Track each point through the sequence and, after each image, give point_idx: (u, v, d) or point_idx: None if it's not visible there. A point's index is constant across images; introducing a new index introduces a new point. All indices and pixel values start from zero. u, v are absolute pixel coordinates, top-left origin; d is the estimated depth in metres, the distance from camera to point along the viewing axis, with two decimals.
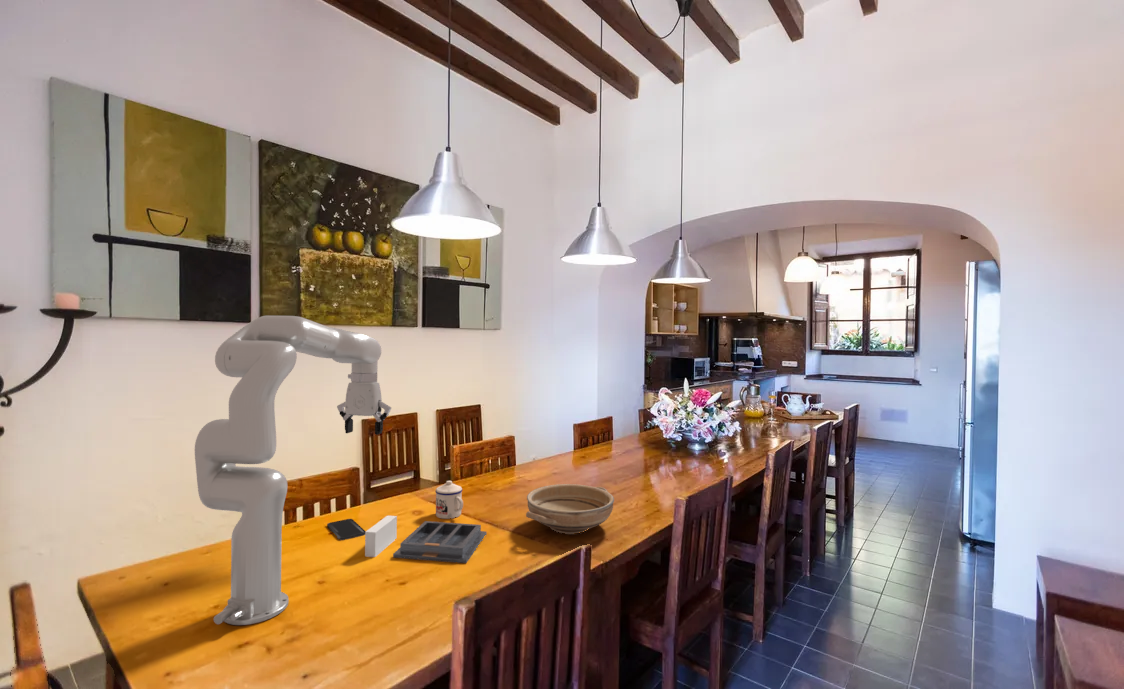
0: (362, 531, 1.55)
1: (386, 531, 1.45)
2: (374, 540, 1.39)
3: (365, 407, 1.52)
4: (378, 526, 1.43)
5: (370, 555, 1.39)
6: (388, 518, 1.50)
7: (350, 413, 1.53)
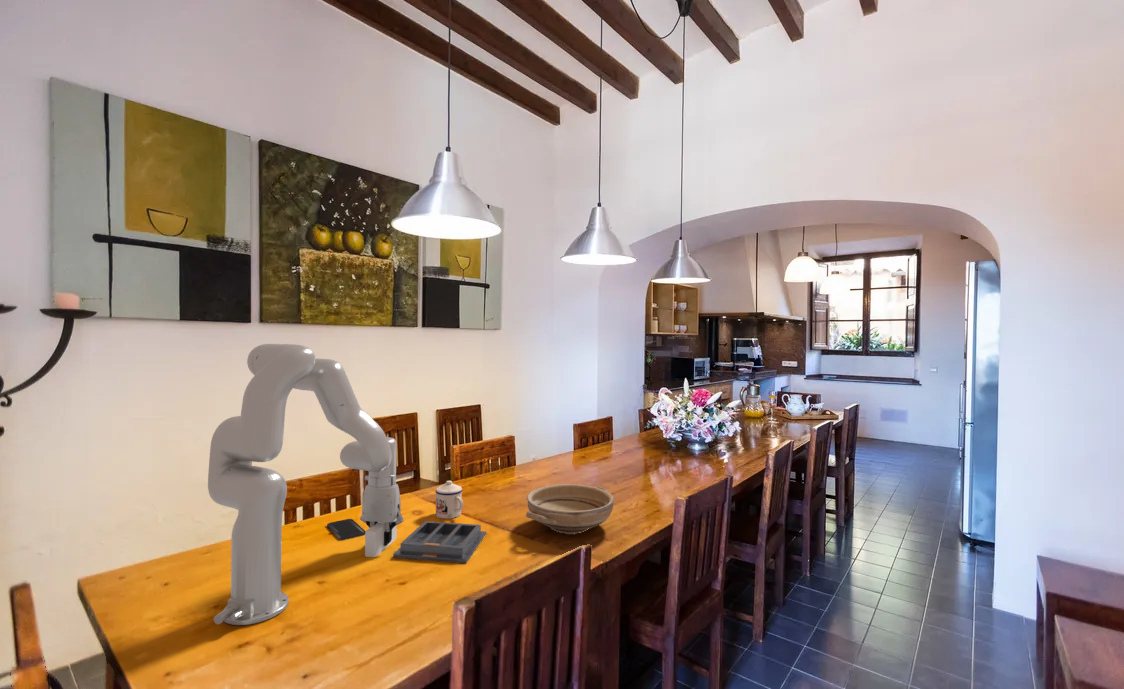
0: (362, 531, 1.55)
1: None
2: (374, 539, 1.39)
3: (383, 513, 1.42)
4: (378, 526, 1.43)
5: (370, 555, 1.39)
6: None
7: (367, 519, 1.43)
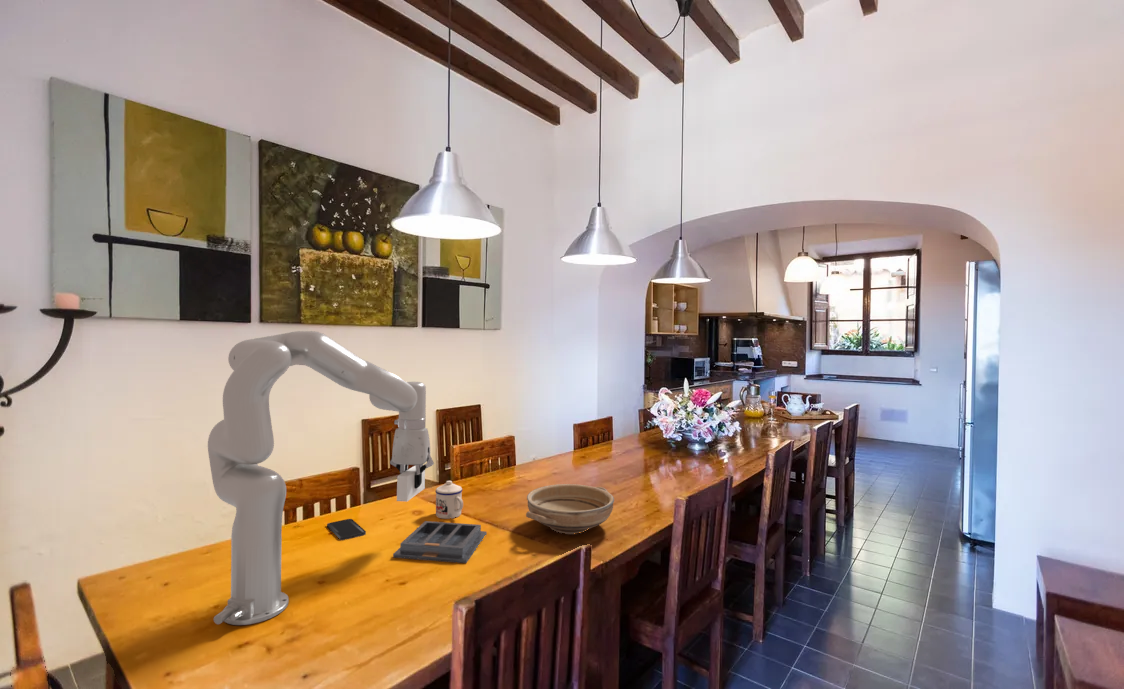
0: (362, 531, 1.55)
1: None
2: (406, 484, 1.40)
3: (414, 456, 1.43)
4: (409, 472, 1.44)
5: (402, 499, 1.40)
6: None
7: (398, 462, 1.44)
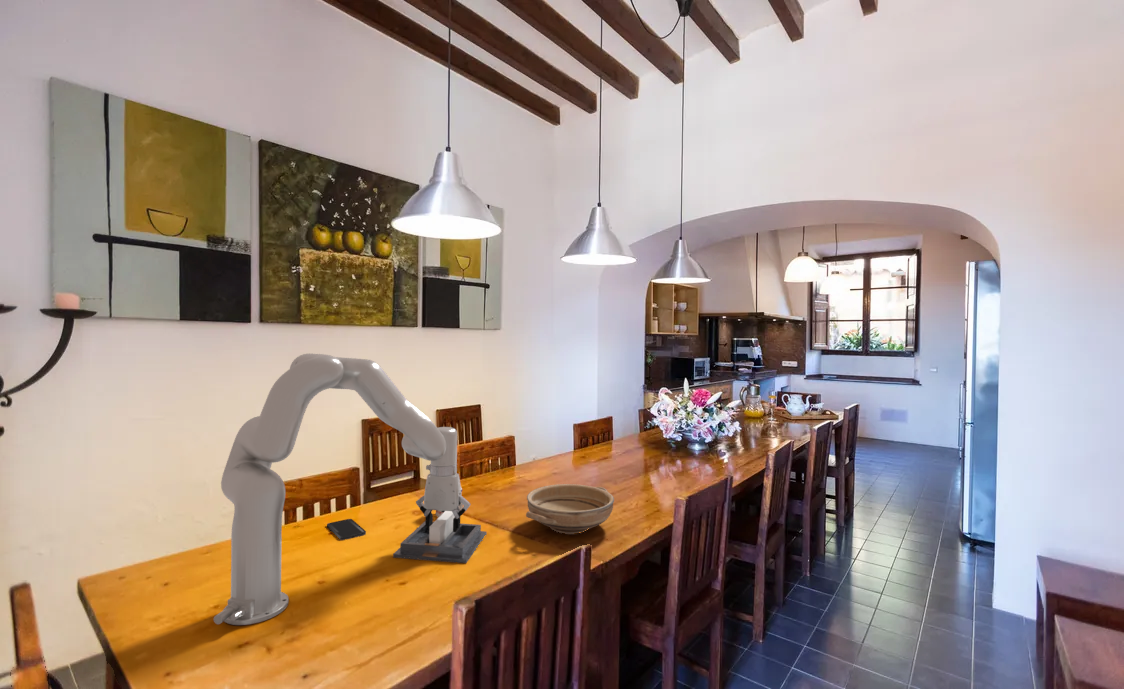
0: (362, 531, 1.55)
1: (447, 526, 1.47)
2: (438, 535, 1.40)
3: (446, 502, 1.44)
4: (440, 521, 1.45)
5: None
6: (447, 513, 1.51)
7: (430, 508, 1.45)
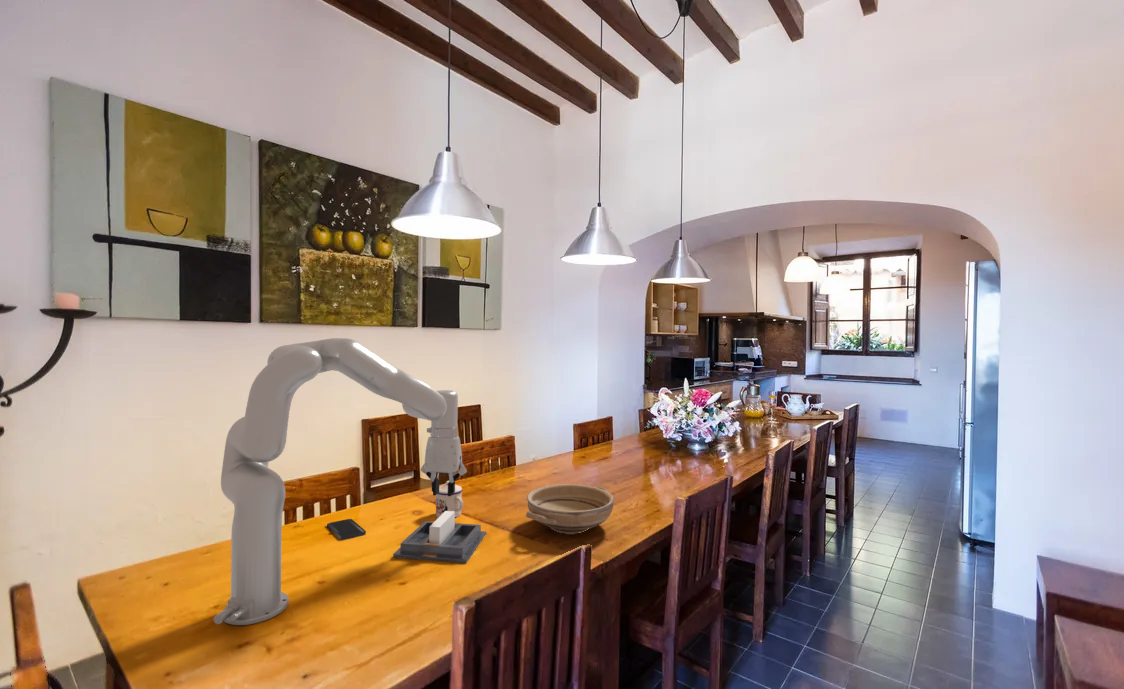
0: (362, 531, 1.55)
1: (447, 526, 1.47)
2: (438, 535, 1.40)
3: (446, 464, 1.44)
4: (440, 521, 1.45)
5: None
6: (447, 513, 1.51)
7: (430, 470, 1.45)
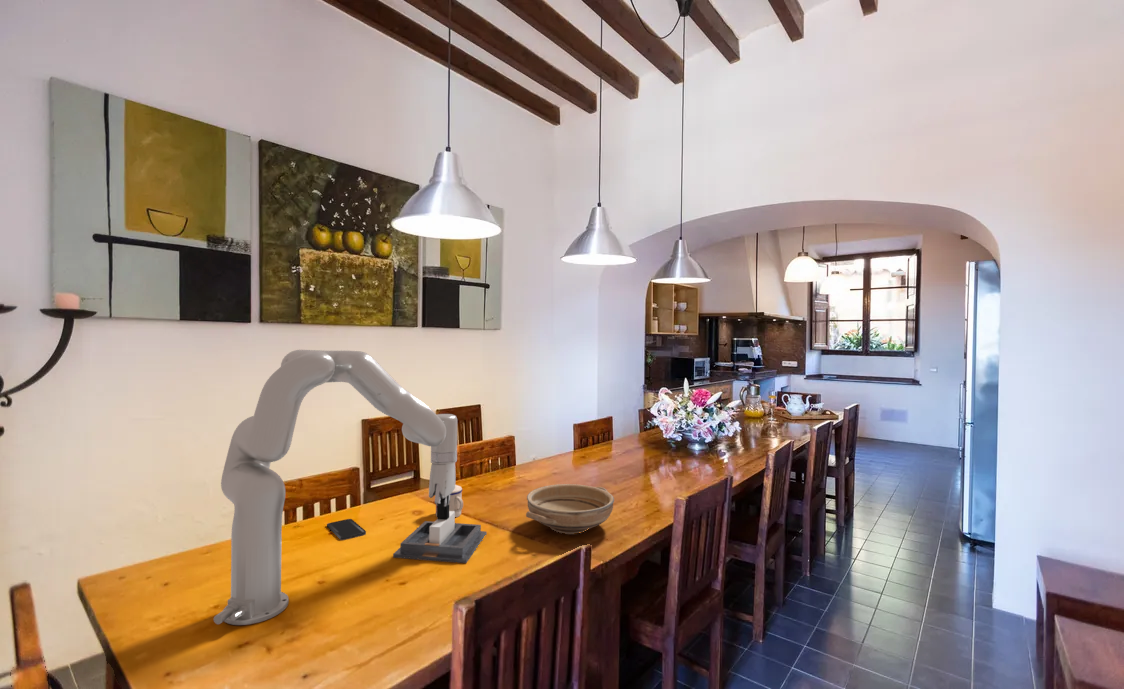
0: (362, 531, 1.55)
1: (447, 526, 1.47)
2: (438, 535, 1.40)
3: None
4: (440, 521, 1.45)
5: None
6: None
7: None
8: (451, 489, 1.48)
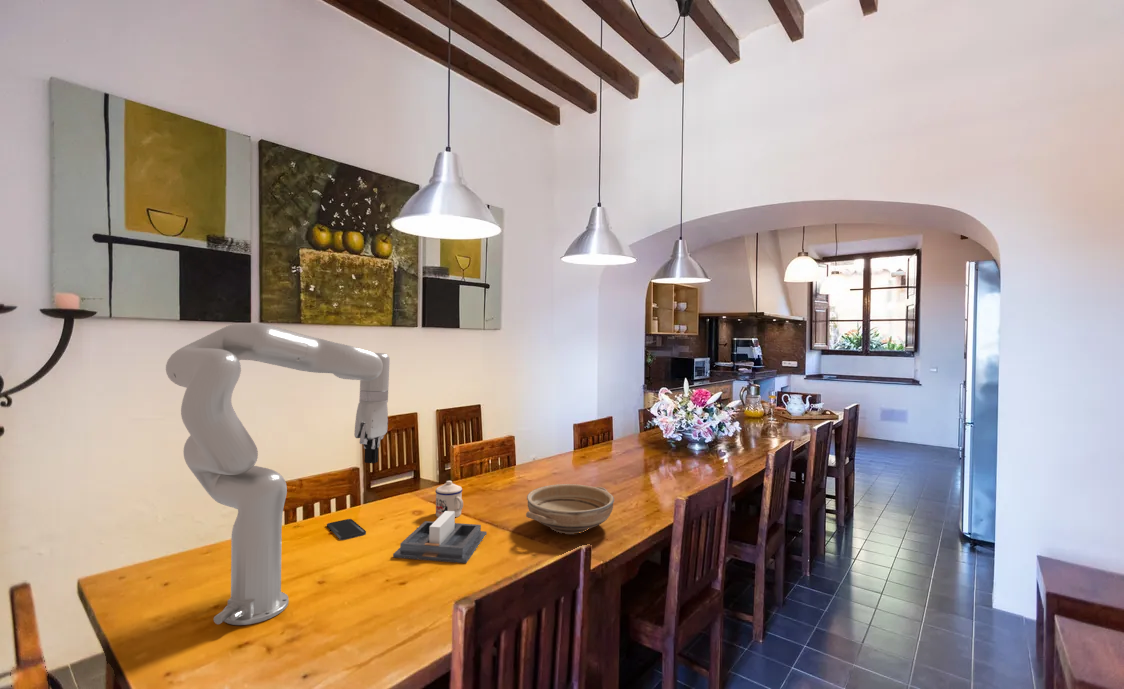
0: (362, 531, 1.55)
1: (447, 526, 1.47)
2: (438, 535, 1.40)
3: None
4: (440, 521, 1.45)
5: None
6: (447, 513, 1.51)
7: None
8: (381, 432, 1.40)
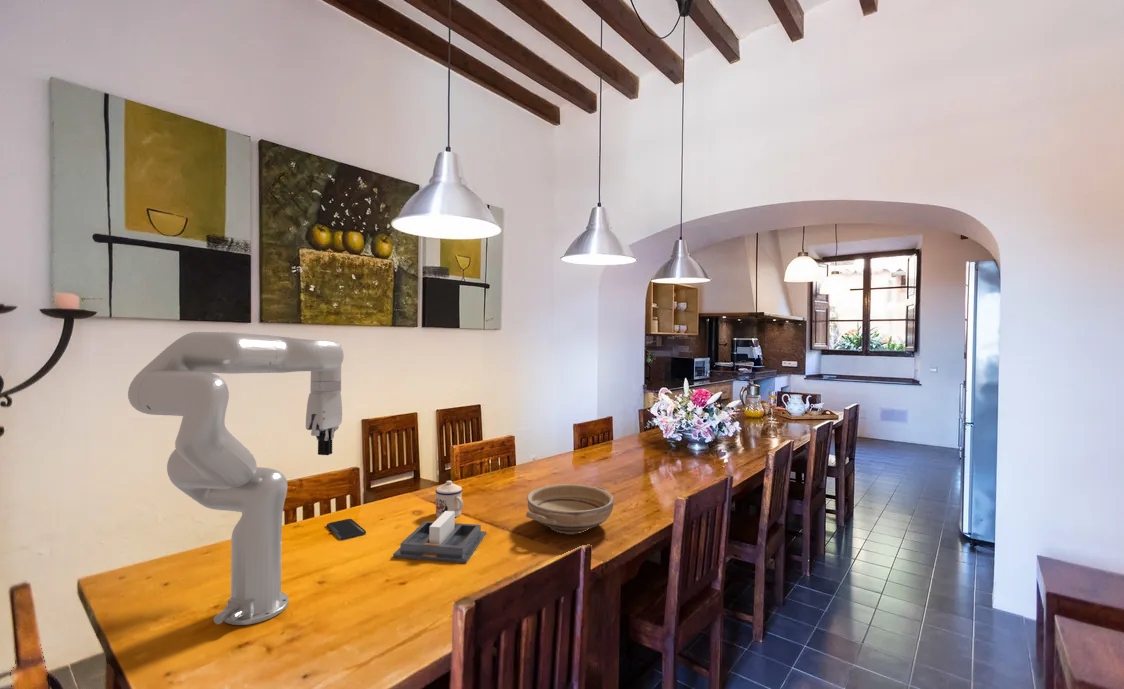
0: (362, 531, 1.55)
1: (447, 526, 1.47)
2: (438, 535, 1.40)
3: None
4: (440, 521, 1.45)
5: None
6: (447, 513, 1.51)
7: None
8: (334, 423, 1.36)
